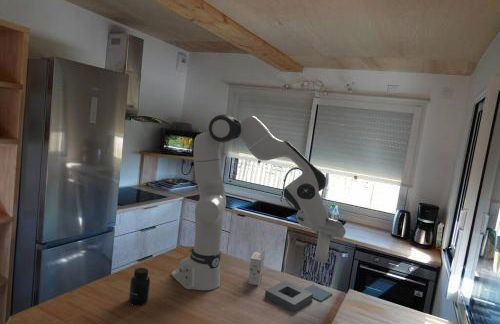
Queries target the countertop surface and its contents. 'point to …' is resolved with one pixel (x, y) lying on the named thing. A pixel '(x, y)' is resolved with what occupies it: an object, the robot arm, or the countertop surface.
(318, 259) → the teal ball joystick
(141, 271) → the supplement bottle
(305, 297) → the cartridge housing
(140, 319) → the countertop surface
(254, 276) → the ink cartridge box
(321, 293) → the rubber mat
